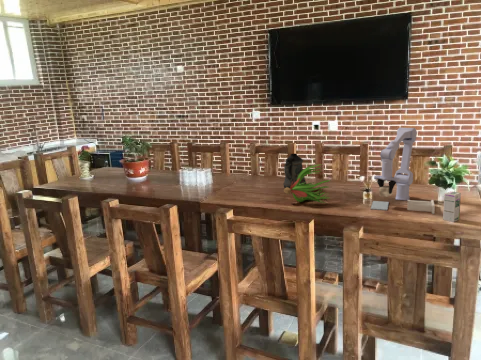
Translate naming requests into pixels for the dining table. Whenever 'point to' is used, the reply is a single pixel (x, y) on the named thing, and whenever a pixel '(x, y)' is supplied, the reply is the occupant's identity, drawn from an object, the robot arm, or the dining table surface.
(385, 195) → the birch block
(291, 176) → the dark grey backpack
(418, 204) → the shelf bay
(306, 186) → the decorative plant
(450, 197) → the syrup box
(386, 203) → the slate board
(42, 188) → the dining table surface
